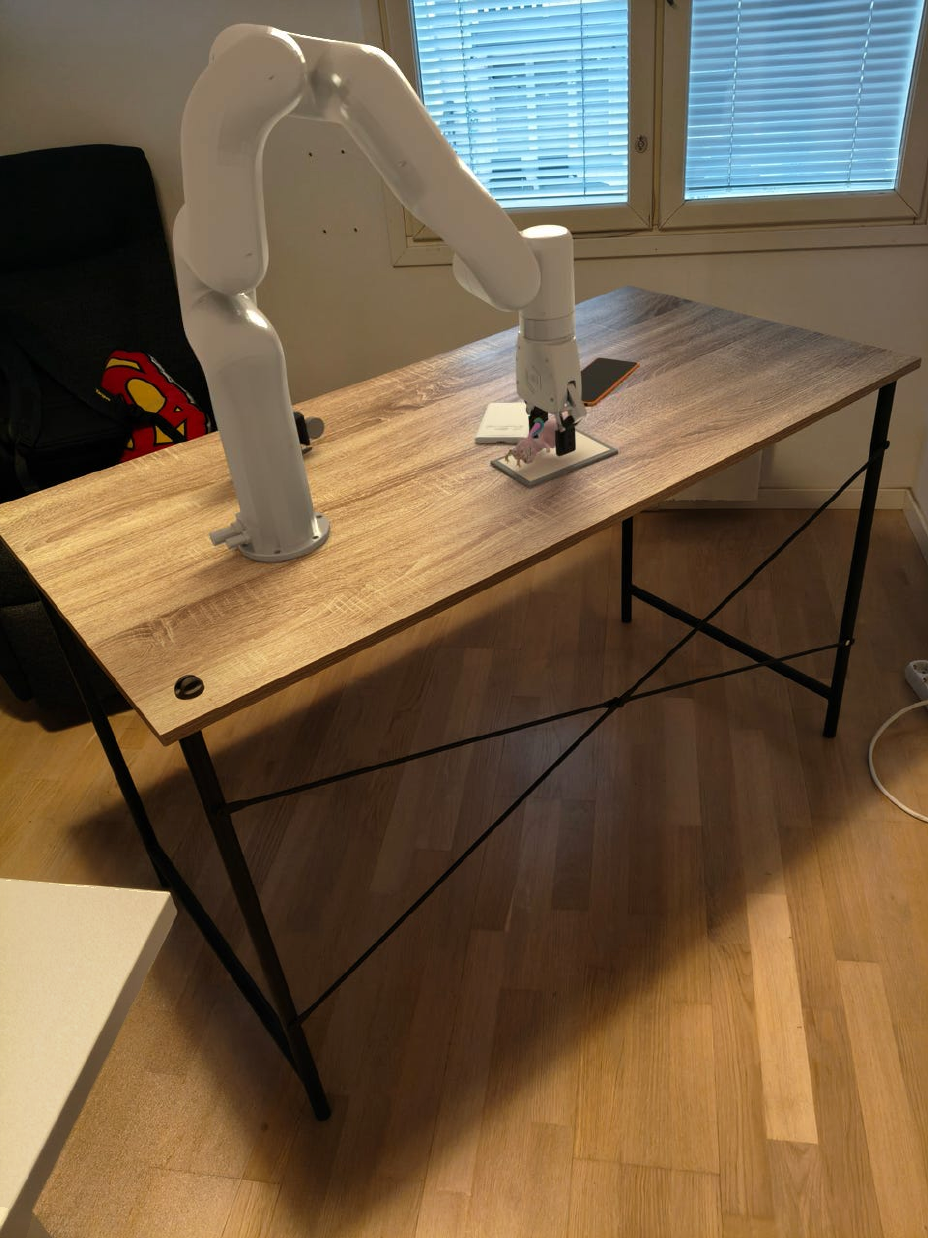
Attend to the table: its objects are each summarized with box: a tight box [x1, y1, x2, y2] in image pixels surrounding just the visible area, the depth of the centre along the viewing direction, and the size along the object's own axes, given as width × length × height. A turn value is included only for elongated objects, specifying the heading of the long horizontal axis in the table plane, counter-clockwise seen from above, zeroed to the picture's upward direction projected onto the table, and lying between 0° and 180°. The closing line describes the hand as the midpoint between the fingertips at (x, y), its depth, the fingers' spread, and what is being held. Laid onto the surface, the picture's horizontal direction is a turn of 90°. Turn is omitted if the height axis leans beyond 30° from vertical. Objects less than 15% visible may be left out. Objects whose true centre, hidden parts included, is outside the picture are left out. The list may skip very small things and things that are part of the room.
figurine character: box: [292, 409, 325, 454], centre depth 148 cm, size 7×8×15 cm
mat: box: [489, 427, 619, 489], centre depth 141 cm, size 16×10×1 cm, turn 122°
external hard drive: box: [474, 402, 530, 444], centre depth 151 cm, size 2×8×12 cm
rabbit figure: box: [504, 411, 588, 469], centre depth 138 cm, size 6×6×15 cm
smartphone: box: [580, 356, 640, 407], centre depth 162 cm, size 8×18×1 cm, turn 147°
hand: (552, 444), depth 140 cm, fingers closed on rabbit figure, 5 cm apart
